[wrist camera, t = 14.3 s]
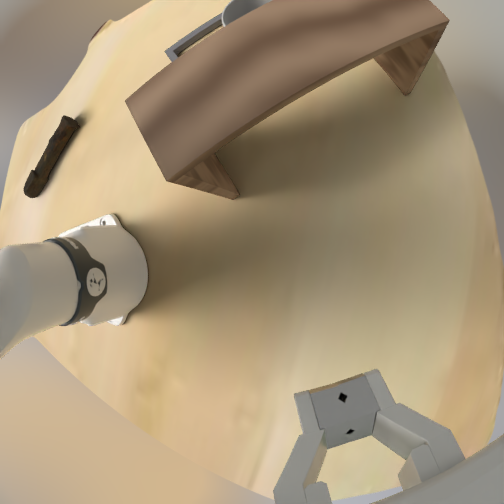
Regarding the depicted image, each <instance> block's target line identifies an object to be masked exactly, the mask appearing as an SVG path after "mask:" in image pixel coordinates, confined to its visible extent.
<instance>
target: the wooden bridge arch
mask: <svg viewBox="0 0 504 504" xmlns="http://www.w3.org/2000/svg"><path fill="white" fill-rule="evenodd" d="M448 23H449V19H448V18H447V17H446V16H445V15H444V14H443V13H442V12H441V11H440V10H439V9H438V8H437V7H436V6H435V5H433V3H432V2H431V1H429V0H272V1H270V2H268V3H266V4H264V5H262V6H260V7H258V8H256V9H255V10H253V11H251V12H249V13H247V14H245V15H244V16H242V17H240V18H238V19H237V20H235V21H233V22H231V23H230V24H228V25H226V26H225V27H223V28H221V29H220V30H218V31H217V32H215V33H213V34H212V35H210V36H209V37H207V38H206V39H204V40H203V41H201V42H200V43H198V44H197V45H195V46H194V47H192V48H191V49H189V50H188V51H187V52H185V53H184V54H182V55H181V56H180V57H178V58H177V59H176V60H174V61H173V62H172V63H170V64H169V65H168V66H166V67H165V68H164V69H162V70H161V71H160V72H158V73H157V74H156V75H155V76H153V77H152V78H151V79H150V80H149V81H147V82H146V83H145V84H144V85H142V86H141V87H140V88H139V89H138V90H137V91H135V92H134V93H133V94H132V95H131V96H130V97H129V98H127V99H126V100H125V102H126V104H127V106H128V108H129V110H130V112H131V114H132V116H133V118H134V120H135V122H136V124H137V126H138V128H139V130H140V132H141V134H142V136H143V138H144V140H145V142H146V143H147V145H148V147H149V149H150V151H151V153H152V155H153V157H154V159H155V161H156V162H157V164H158V166H159V168H160V170H161V172H162V174H163V176H164V177H165V179H166V181H168V182H172V183H175V184H179V185H183V186H186V187H190V188H194V189H197V190H201V191H204V192H208V193H211V194H215V195H219V196H222V197H225V198H229V199H232V200H233V199H235V198H236V197H238V196H239V195H240V194H239V192H238V191H237V189H236V187H235V186H234V184H233V182H232V181H231V179H230V178H229V176H228V174H227V173H226V171H225V169H224V168H223V166H222V165H221V163H220V161H219V160H218V158H217V156H216V155H215V152H216V151H217V150H219V149H220V148H222V147H223V146H225V145H226V144H228V143H229V142H230V141H232V140H233V139H235V138H236V137H238V136H239V135H241V134H242V133H244V132H245V131H247V130H248V129H250V128H251V127H253V126H254V125H256V124H258V123H259V122H261V121H262V120H264V119H265V118H267V117H269V116H270V115H272V114H273V113H275V112H277V111H278V110H280V109H281V108H283V107H285V106H286V105H288V104H290V103H291V102H293V101H295V100H296V99H298V98H300V97H301V96H303V95H305V94H307V93H308V92H310V91H312V90H314V89H315V88H317V87H319V86H321V85H322V84H324V83H326V82H328V81H330V80H332V79H333V78H335V77H337V76H339V75H341V74H343V73H345V72H347V71H349V70H350V69H352V68H354V67H356V66H358V65H360V64H362V63H364V62H366V61H368V60H370V59H372V58H374V59H375V60H376V61H377V63H378V64H379V65H380V66H381V67H382V68H383V69H384V71H385V72H386V73H387V74H388V75H389V76H390V78H391V79H392V80H393V81H394V82H395V84H396V85H397V86H398V87H399V89H400V90H401V91H402V92H403V94H404V95H407V94H409V93H411V91H412V89H413V88H414V86H415V84H416V82H417V81H418V79H419V77H420V75H421V73H422V72H423V70H424V68H425V66H426V64H427V62H428V61H429V59H430V57H431V55H432V53H433V51H434V49H435V48H436V46H437V43H438V42H439V40H440V38H441V36H442V34H443V32H444V30H445V28H446V26H447V24H448Z"/></svg>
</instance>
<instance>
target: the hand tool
mask: <svg viewBox="0 0 504 504" xmlns="http://www.w3.org/2000/svg"><path fill="white" fill-rule="evenodd" d="M79 127H80V126H79V125H78V123H77V122H76V121H75V120H73V119H72V118H70V117H67V116H63V117H62V119H61V122H60V125H59V126H58V128H57V130H56V131H55V133H54V135H53V136H52V137H51V138H50V140H49V144H48V145H47V148H46V149H45V151H44V153H43V155H42V157H41V159H40V161H39V162H38V164H37V167H36V168H35V170H31V172H30V174H29V177H28V179H27V181H26V183H25V186H24V193H25V195H26V196H28V197H30V198H36V197H37V196H38V195H39V193H40V192H41V191H42V189H43V187H44V186H45V184H46V183H47V181H48V175H49V173H50V171H51V169H52V168H53V166H54V164H55V163H56V160H57V158H58V157H59V155H60V153H61V151H62V150H63V148H64V147H65V145H66V143H67V141H68V140H69V138H70V137H71V135H72V133H73V132H74V130H75V129H76V128H79Z"/></svg>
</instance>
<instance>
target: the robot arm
mask: <svg viewBox="0 0 504 504" xmlns="http://www.w3.org/2000/svg"><path fill="white" fill-rule="evenodd" d="M105 221H106V225H105ZM147 282H148V269H147V263H146V259H145V256H144V253H143V251H142V248H141V247H140V245H139V243H138V242H137V241H136V239H135V238H134V237H133V236H132V235H131V234H130V233H128V232H127V231H126V230H125V229H124V228H123V227H122V226H121V224H120V222H119V220H118V218H117V217H116V216H115V215H114V214H107V215H105V216H102V217H100V218H97V219H94V220H92V221H89V222H87V223H84V224H82V225H80V226H77V227H75V228H72V229H70V230H68V231H65V232H63V233H61V234H60V235H59V237H55V238H51V239H47V240H45V241H43V242H41V243H27V244H15V245H8V246H5V247H3V248H2V249H0V360H1V359H2V358H3V357H4V356H5V355H6V354H7V353H8V352H9V351H10V350H11V349H12V348H14V347H15V346H16V345H17V344H19V343H20V342H22V341H23V340H25V339H27V338H29V337H31V336H33V335H36V334H38V333H40V332H43V331H45V330H48V329H50V328H53V327H55V326H58V325H59V326H67V325H73V324H76V323H78V322H81V323H85V324H88V326H94V325H97V324H100V323H104V322H108V323H111V324H113V325H116V326H118V325H122V324H123V323H124V322H125V320H126V317H127V315H128V313H129V312H130V311H131V310H132V309H134V308H135V307H136V306H137V305H138V304H139V303H140V301H141V300H142V298H143V296H144V294H145V291H146V288H147ZM294 398H295V402H296V406H297V411H298V415H299V419H300V423H301V427H302V431H303V434H302V435H299V437H298V439H297V441H296V443H295V446H294V448H293V450H292V452H291V455H290V457H289V459H288V461H287V463H286V465H285V468H284V470H283V472H282V474H281V476H280V478H279V480H278V482H277V484H276V486H275V488H274V490H273V492H274V499H275V504H332V502H331V498H330V494H329V491H328V487H327V483H324V482H321V481H320V482H317V483H316V480H317V478H318V475H319V472H320V470H321V467H322V464H323V461H324V458H325V456H326V453H327V449H330V448H333V447H336V446H339V445H342V444H345V443H348V442H351V441H355V440H358V439H361V438H364V437H367V436H370V435H372V436H373V437H374V438H376V439H377V440H379V441H380V442H381V443H383V444H384V445H385V446H387V447H388V448H390V449H391V450H392V451H394V452H395V453H397V454H398V455H399V456H401V457H402V458H404V459H405V460H406V462H405V464H404V465H403V467H402V469H401V471H400V472H399V474H398V477H399V480H400V483H401V486H402V488H403V491H402V492H400V493H397V494H395V495H392V496H390V497H387V498H385V499H382V500H379V501H376V502H374V503H371V504H504V434H503V435H502V436H500V437H499V438H497V439H496V440H495V441H493V442H492V443H490V444H489V445H487V446H486V447H484V448H483V449H481V450H480V451H478V452H476V453H475V454H473V455H472V456H470V457H468V458H467V459H465V457H464V455H463V453H462V451H461V449H460V447H459V445H458V443H457V441H456V439H455V437H454V436H453V434H452V432H451V430H450V429H448V428H446V427H444V426H442V425H440V424H438V423H436V422H434V421H432V420H431V419H429V418H427V417H425V416H423V415H421V414H419V413H417V412H416V411H414V410H412V409H410V408H408V407H406V406H405V405H403V404H401V403H398V404H396V403H395V401H394V399H393V397H392V395H391V393H390V391H389V389H388V387H387V385H386V383H385V381H384V379H383V377H382V375H381V374H380V372H379V370H377V369H374V370H371V371H368V372H365V373H361V374H359V375H356V376H353V377H350V378H347V379H344V380H341V381H338V382H336V383H332V384H329V385H325V386H322V387H318V388H315V389H311V390H306V391H303V392H299V393H295V394H294Z"/></svg>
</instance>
